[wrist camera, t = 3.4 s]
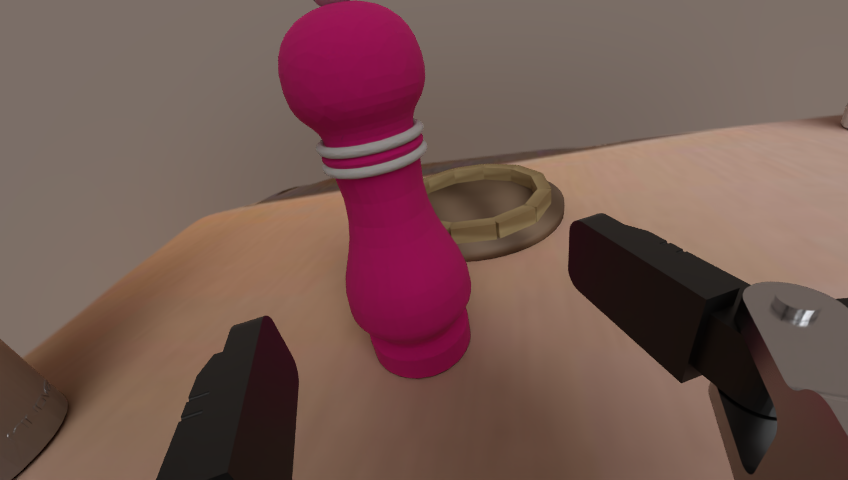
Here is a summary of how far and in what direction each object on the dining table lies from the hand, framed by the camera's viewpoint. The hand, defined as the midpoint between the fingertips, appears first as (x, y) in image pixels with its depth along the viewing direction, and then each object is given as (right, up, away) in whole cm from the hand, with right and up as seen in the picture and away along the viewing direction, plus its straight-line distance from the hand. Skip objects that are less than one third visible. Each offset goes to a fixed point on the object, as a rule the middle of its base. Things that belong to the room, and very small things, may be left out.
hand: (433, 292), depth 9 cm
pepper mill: (0, -5, +14) cm, 15 cm away
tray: (+5, +4, +28) cm, 28 cm away
